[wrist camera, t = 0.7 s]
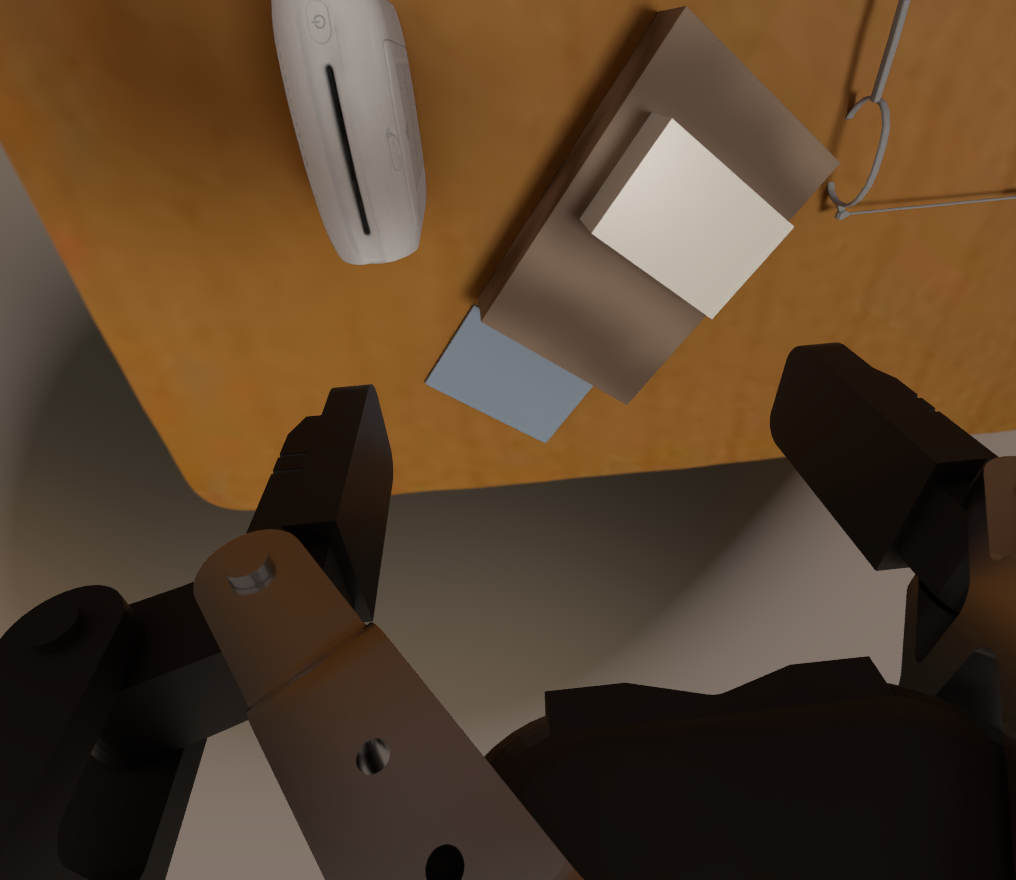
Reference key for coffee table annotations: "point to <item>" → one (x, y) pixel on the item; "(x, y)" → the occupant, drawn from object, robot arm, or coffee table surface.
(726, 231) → the cream rectangular block
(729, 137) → the brown flat block
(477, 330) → the mat
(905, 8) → the eyeglasses
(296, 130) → the photo printer
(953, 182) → the coffee table surface
